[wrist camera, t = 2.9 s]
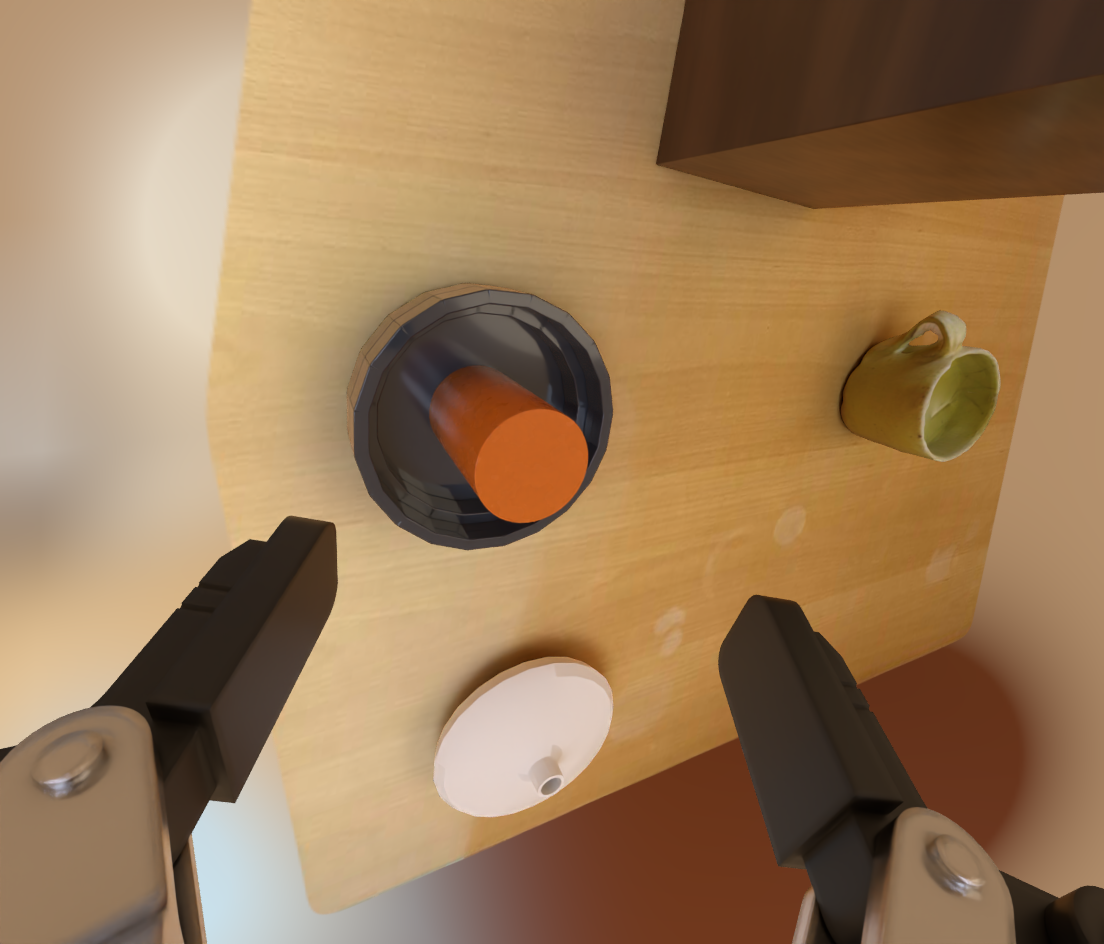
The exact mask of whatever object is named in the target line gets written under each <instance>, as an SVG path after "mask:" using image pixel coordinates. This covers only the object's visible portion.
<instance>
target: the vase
mask: <svg viewBox="0 0 1104 944" xmlns="http://www.w3.org/2000/svg"><path fill="white" fill-rule="evenodd" d="M612 713H613V695H612V690H611V688H610V686H609V684H608V682H607V680H606V678H605V677H604V676H603V675H601V674H600V673H599V672H597V671H596V670H595V669H594V668H592V667H591V666H589V665H588V664H586V663H585V662H583V661H579V660H576V659H573V658H569V657H544V658H540V659H536V660H531V661H527V662H523V663H521V664H519V665H517V666H514V667H512V668H510V669H508V670H505V671H503V672H501V673H499V674H498V675H496V676H495V677H493V678H492V679H490V680H489V681H487V682H486V683H484V684H483V685H481V686H480V687H478V688H477V689H476V690H475V691H474V692H473V693H472V694H471V695H470V696H469V697H468V698H467V699H466V700H465V701H464V702H462V703H461V704H460V705H459V706H458V708H457V709H456V710H455V712H454V713H453V715H452V716H451V718H450V719H449V720H448V722H447V723H446V725H445V726H444V728H443V730H442V733H441V736H440V738H439V741H438V743H437V746H436V752H435V762H434V779H433V781H434V783H435V786H436V789H437V791H438V794H439V796H440V797H441V798H442V799H443V800H444V801H445V802H446V803H447V804H448V805H449V806H451V807H452V808H454V809H457V810H459V811H461V812H464V813H467V814H470V815H473V816H477V817H497V816H502V815H508V814H513V813H516V812H519V811H522V810H524V809H527V808H530V807H532V806H535V805H536V804H538V803H540V802H542V801H544V800H546V799H547V798H549V797H551V796H553V795H554V794H556V793H557V792H558V791H560V790H561V789H562V788H564V787H565V786H566V785H568V784H569V783H570V782H572V781H573V780H574V779H575V778H576V777H577V776H578V775H579V774H580V773H581V772H582V771H583V770H584V769H585V768H586V767H587V766H588V765H589V763H590V762H591V761H592V759H593V758H594V757H595V755H596V754H597V753H598V751H599V750H600V748H601V746H602V744H603V742H604V740H605V738H606V736H607V734H608V732H609V727H610V723H611V719H612Z"/></svg>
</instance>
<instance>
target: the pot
mask: <svg viewBox="0 0 1104 944" xmlns="http://www.w3.org/2000/svg"><path fill="white" fill-rule="evenodd" d="M475 365H480V366H487V367H491V368H494V369H496V370H498V371H500V372H501V373H503V374H504V375H506V376H507V377H509V378H510V379H512V380H513V381H515V382H516V383H518V384H520V385H521V386H523V387H524V388H526V389H527V390H529V391H530V392H532V393H533V394H535V395H536V396H538V397H539V398H541V399H542V400H544V401H545V402H547V403H548V404H550V405H551V406H553V407H554V408H556V409H557V410H559V411H561V412H562V413H564V414H565V415H567V416H568V417H569V418H571V419H572V420H573V421H574V422H575V423H576V424H577V425H578V426H579V428H580V429H581V431H582V433H583V435H584V437H585V440H586V443H587V448H588V465H587V470H586V474H585V477H584V479H583V482H582V484H581V486H580V488H579V489H578V491H577V492H576V494H575V495H574V496H573V498H572V499H571V500H570V501H569V502H568V503H567V504H566V505H565V506H564V507H563V508H561V509H560V510H559V511H557V512H556V513H554V514H552V515H550V516H549V517H546V518H544V519H541V520H538V521H534V522H528V523H516V522H510V521H506V520H503V519H501V518H499V517H497V516H495V515H494V514H492V513H491V512H490V511H489V510H488V509H487V508H486V507H485V506H484V505H483V503H482V502H481V500H480V499H479V497H478V496H477V495H476V493H475V492H474V490H473V489H472V487H471V486H470V485H469V483H468V482H467V480H466V479H465V477H464V476H463V475H462V473H461V472H460V470H459V469H458V467H457V466H456V465H455V463H454V462H453V460H452V459H451V457H450V456H449V455H448V453H447V452H446V450H445V449H444V447H443V446H442V445H441V443H440V442H439V440H438V439H437V437H436V436H435V434H434V432H433V430H432V427H431V424H430V418H429V409H430V403H431V399H432V397H433V394H434V392H435V390H436V389H437V387H438V386H439V384H440V383H441V382H442V381H443V380H444V379H445V378H446V377H447V376H448V375H450V374H451V373H453V372H455V371H456V370H459V369H461V368H464V367H467V366H475ZM612 417H613V406H612V396H611V386H610V377H609V374H608V372H607V369H606V367H605V365H604V362H603V360H602V358H601V355H600V353H599V351H598V348H597V346H596V344H595V342H594V340H593V339H592V338H591V337H590V336H589V335H588V334H587V333H586V331H585V330H584V329H583V328H582V327H581V326H580V325H579V324H578V323H577V322H576V321H575V319H574V318H573V317H572V316H571V315H570V314H569V313H568V312H566V311H564V310H562V309H560V308H558V307H556V306H554V305H552V304H550V303H548V302H547V301H545V300H543V299H541V298H539V297H537V296H535V295H533V294H529V293H525V292H521V291H517V290H513V289H509V288H504V287H496V286H488V285H480V284H472V283H462V284H458V285H453V286H449V287H445V288H440V289H436V290H431V291H427V292H424V293H422V294H421V295H419V296H417V297H416V298H414V299H413V300H411V301H409V302H408V303H406V304H405V305H403V306H401V307H400V308H398V309H397V310H395V311H394V312H392V313H390V314H389V315H388V316H387V317H386V318H385V319H384V320H383V322H382V323H381V324H380V325H379V327H378V328H377V329H376V331H375V332H374V333H373V334H372V336H371V337H370V338H369V339H368V341H367V342H366V343H365V344H364V346H363V347H362V348H361V351H360V352H359V355H358V358H357V361H356V364H355V367H354V370H353V373H352V376H351V379H350V382H349V385H348V388H347V430H348V435H349V439H350V443H351V447H352V450H353V454H354V458H355V460H356V463H357V465H358V468H359V470H360V473H361V476H362V478H363V481H364V483H365V486H366V488H367V491H368V493H369V495H370V497H371V498H372V499H373V500H374V501H375V502H376V503H377V505H378V506H379V507H380V508H381V509H382V510H383V511H384V512H385V513H386V515H387V516H388V517H389V518H390V519H391V520H392V521H393V522H394V523H395V524H396V525H397V526H399V527H400V528H402V529H404V530H406V531H408V532H410V533H412V534H414V535H415V536H417V537H419V538H421V539H423V540H425V541H427V542H428V543H431V544H435V545H441V546H446V547H452V548H458V549H463V550H473V549H481V548H490V547H499V546H505V545H507V544H510V543H512V542H515V541H517V540H520V539H522V538H525V537H527V536H530V535H532V534H535V533H537V532H539V531H540V530H542V529H543V528H544V527H546V526H547V525H548V524H550V523H551V522H553V521H554V520H555V519H557V518H558V517H559V516H561V515H562V514H563V513H565V512H566V511H567V510H568V509H569V508H570V507H571V506H572V504H573V503H574V502H575V501H576V500H577V498H578V497H579V496H580V495H581V494H582V492H583V491H584V490H585V489H586V487H587V486H588V485H589V484H590V483H591V481H592V479H593V477H594V475H595V473H596V471H597V469H598V466H599V464H600V462H601V460H602V458H603V456H604V454H605V452H606V448H607V444H608V439H609V433H610V428H611V423H612Z"/></svg>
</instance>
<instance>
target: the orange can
mask: <svg viewBox="0 0 1104 944" xmlns="http://www.w3.org/2000/svg"><path fill="white" fill-rule="evenodd" d="M429 418H430V424H431V427H432V430H433V432H434V434H435V436H436V437H437V439H438V440H439V442H440V443H441V445H442V446H443V447H444V449H445V450H446V452H447V453H448V455H449V456H450V457H451V459H452V460H453V462H454V463H455V465H456V466H457V467H458V469H459V470H460V472H461V473H462V475H463V476H464V477H465V479H466V480H467V482H468V483H469V485H470V486H471V487H472V489H473V490H474V492H475V493H476V495H477V496H478V497H479V499H480V500H481V502H482V503H483V505H484V506H485V507H486V508H487V509H488V510H489V511H490V512H491V513H492V514H494V515H495V516H497V517H499V518H501V519H503V520H506V521H510V522H516V523H528V522H534V521H538V520H541V519H544V518H546V517H549V516H550V515H552V514H554V513H556V512H557V511H559V510H560V509H561V508H563V507H564V506H565V505H566V504H567V503H568V502H569V501H570V500H571V499H572V498H573V496H574V495H575V494H576V492H577V491H578V489H579V488H580V486H581V484H582V482H583V479H584V477H585V474H586V470H587V465H588V448H587V443H586V440H585V437H584V435H583V433H582V431H581V429H580V428H579V426H578V425H577V424H576V423H575V422H574V421H573V420H572V419H571V418H569V417H568V416H567V415H565V414H564V413H562V412H561V411H559V410H557V409H556V408H554V407H553V406H551V405H550V404H548V403H547V402H545V401H544V400H542V399H541V398H539V397H538V396H536V395H535V394H533V393H532V392H530V391H529V390H527V389H526V388H524V387H523V386H521V385H520V384H518V383H516V382H515V381H513V380H512V379H510V378H509V377H507V376H506V375H504V374H503V373H501V372H500V371H498V370H496V369H494V368H491V367H487V366H480V365H475V366H467V367H464V368H461V369H459V370H456V371H455V372H453V373H451V374H450V375H448V376H447V377H446V378H445V379H444V380H443V381H442V382H441V383H440V384H439V386H438V387H437V389H436V390H435V392H434V394H433V397H432V399H431V403H430V409H429Z"/></svg>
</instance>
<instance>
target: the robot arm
mask: <svg viewBox="0 0 1104 944" xmlns="http://www.w3.org/2000/svg"><path fill="white" fill-rule="evenodd" d="M337 584H338V576H337V544H336V528H335V525H334V523H332V522H326V521H320V520H314V519H308V518H302V517H296V516H288V517H286V518H285V519H284V520H283V521H282V522H281V524H280V525H279V526H278V528H277V529H276V530H275V532H274V533H273V534H272V536H271V537H270V538H269V540H268V541H267V542H264V541H258V540H251V539H250V540H248V541H246V542H245V543H243V544H241V545H240V546H238V547H237V548H235V549H233V550H232V551H230V552H229V553H227V554H225V555H224V556H222V557H221V558H219V560H218V561H217V562H216V563H215V564H214V566H213V567H212V568H211V569H210V570H209V571H208V573H207V574H206V575H205V576H204V577H203V578H202V580H201V581H200V582H199V586H198V587H195V588H194V589H193V590H192V592H191V593H190V594H189V595H188V596H187V597H186V599H185V600H184V601H183V602H182V606H181V608H180V609H179V608H177V609H176V610H175V612H174V613H173V614H172V615H171V616H170V617H169V618H168V620H167V621H166V622H165V623H164V624H163V626H162V627H161V628H160V629H159V630H158V632H157V633H156V634H155V635H154V636H153V637H152V639H151V640H150V641H149V642H148V643H147V645H146V646H145V647H144V648H143V649H142V651H141V652H140V653H139V654H138V655H137V656H136V657H135V659H134V660H133V661H132V662H131V663H130V664H129V666H128V667H127V668H126V669H125V670H124V672H123V673H122V674H121V675H120V676H119V678H118V679H117V680H116V681H115V682H114V683H113V685H112V686H111V687H110V688H109V689H108V691H107V692H106V693H105V694H104V695H103V696H102V697H101V698H100V699H99V700H98V701H97V702H96V703H95V704H93V705H92V706H91V707H90V708H87V709H83V710H80V711H76V712H73V713H71V714H68V715H65V716H63V717H61V718H58V719H56V720H54V721H52V722H51V723H49V724H47V725H45V726H43V727H42V728H40V729H38V730H37V731H35V732H33V733H32V734H31V735H29V736H28V737H27V738H26V739H24V740H23V741H22V742H20V743H19V744H18V745H16V746H13V747H8V748H3V749H0V944H207V940H206V933H205V927H204V918H203V911H202V904H201V897H200V890H199V882H198V875H197V868H196V861H195V854H194V847H193V840H192V834H191V833H192V831H193V829H194V828H195V826H196V824H197V822H198V820H199V818H200V816H201V815H202V813H203V811H204V809H205V807H206V806H207V803H208V802H209V800H212V801H221V802H231V803H235V802H236V800H237V798H238V796H239V794H240V792H241V790H242V788H243V786H244V784H245V782H246V780H247V778H248V776H249V774H250V772H251V770H252V768H253V766H254V764H255V762H256V760H257V758H258V756H259V754H260V752H261V750H262V748H263V746H264V744H265V743H266V740H267V738H268V737H269V735H270V733H271V731H272V729H273V727H274V725H275V723H276V721H277V719H278V717H279V715H280V713H281V711H282V709H283V707H284V705H285V703H286V701H287V699H288V697H289V695H290V693H291V691H292V689H293V687H294V685H295V683H296V681H297V679H298V677H299V675H300V673H301V671H302V669H303V667H304V665H305V663H306V661H307V659H308V657H309V655H310V653H311V651H312V649H313V647H314V645H315V643H316V641H317V639H318V637H319V635H320V633H321V631H322V629H323V627H324V625H325V623H326V621H327V619H328V617H329V615H330V613H331V610H332V607H333V604H334V601H335V597H336V592H337ZM718 666H719V674H720V678H721V681H722V684H723V687H724V691H725V694H726V697H727V700H728V704H729V707H730V710H731V714H732V717H733V720H734V723H735V727H736V730H737V733H738V736H739V740H740V743H741V746H742V749H743V753H744V756H745V759H746V762H747V765H748V769H749V772H750V775H751V778H752V782H753V785H754V789H755V792H756V795H757V798H758V801H759V805H760V808H761V811H762V815H763V818H764V821H765V824H766V827H767V831H768V834H769V837H770V841H771V844H772V847H773V851H774V854H775V857H776V860H777V864H778V866H781V867H791V868H799V869H807V872H808V875H809V878H810V881H811V884H812V886H811V887H810V888H809V889H808V890H807V891H806V893H805V895H804V898H803V902H802V906H801V910H800V914H799V918H798V922H797V926H796V930H795V934H794V938H793V942H792V944H1104V889H1103V888H1099V887H1096V886H1084V887H1080V888H1078V889H1076V890H1074V891H1072V892H1070V893H1068V894H1066V895H1065V896H1063V897H1061V898H1058V897H1055V896H1053V895H1051V894H1049V893H1047V892H1045V891H1043V890H1040V889H1038V888H1036V887H1034V886H1032V885H1030V884H1028V883H1025V882H1023V881H1021V880H1019V879H1016V878H1015V877H1013V876H1010V875H1008V874H1006V873H1004V872H1002V871H1000V870H998V868H997V867H996V865H995V864H994V862H993V861H992V860H991V858H990V857H989V856H988V854H987V853H986V852H985V851H984V849H983V848H982V847H981V846H980V845H979V844H978V843H977V842H976V841H975V840H974V839H973V838H972V837H971V836H970V835H969V834H968V833H967V832H966V831H964V830H963V829H962V828H961V827H960V826H958V825H957V824H956V823H954V822H953V821H951V820H950V819H948V818H946V817H945V816H943V815H941V814H939V813H937V812H935V811H932V810H929V809H927V807H926V805H925V804H924V802H923V800H922V799H921V797H920V795H919V793H918V792H917V790H916V788H915V786H914V784H913V783H912V781H911V779H910V777H909V776H908V774H907V772H906V770H905V768H904V767H903V765H902V763H901V762H900V759H899V758H898V756H897V754H896V752H895V751H894V749H893V747H892V745H891V743H890V742H889V740H888V738H887V736H886V735H885V733H884V731H883V729H882V727H881V726H880V724H879V722H878V720H877V719H876V717H875V715H874V713H873V712H870V711H869V704H868V703H867V701H866V699H865V697H864V696H863V694H862V692H861V690H860V689H857V687H856V684H857V683H856V681H855V679H854V678H853V676H852V674H851V672H850V670H849V669H848V667H847V665H846V663H845V662H844V660H843V658H842V656H841V655H840V654H839V653H838V652H837V651H836V650H835V649H834V648H833V647H832V646H831V645H830V644H829V643H828V641H827V640H826V639H825V638H824V637H823V636H822V635H821V634H820V633H819V632H814V631H813V629H812V627H811V626H810V624H809V622H808V620H807V618H806V616H805V614H804V612H803V611H802V609H801V607H800V606H799V605H798V604H797V603H796V602H794V601H791V600H785V599H779V598H773V597H767V596H761V595H753V596H752V597H751V598H749V600H748V601H747V603H746V604H745V606H744V608H743V609H742V611H741V613H740V614H739V616H738V618H737V619H736V621H735V623H734V624H733V626H732V628H731V629H730V631H729V633H728V634H727V636H726V638H725V639H724V641H723V643H722V645H721V648H720V652H719V660H718Z"/></svg>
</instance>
